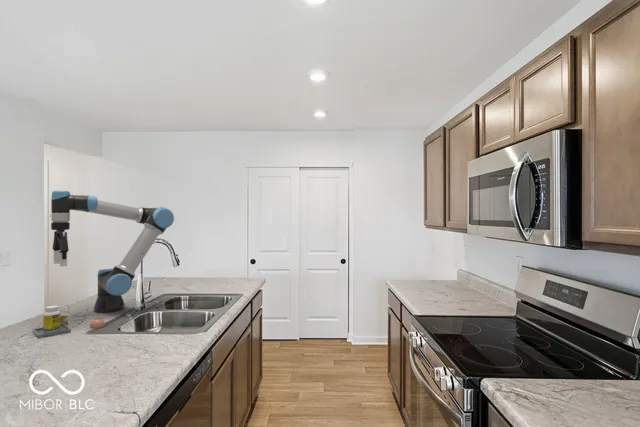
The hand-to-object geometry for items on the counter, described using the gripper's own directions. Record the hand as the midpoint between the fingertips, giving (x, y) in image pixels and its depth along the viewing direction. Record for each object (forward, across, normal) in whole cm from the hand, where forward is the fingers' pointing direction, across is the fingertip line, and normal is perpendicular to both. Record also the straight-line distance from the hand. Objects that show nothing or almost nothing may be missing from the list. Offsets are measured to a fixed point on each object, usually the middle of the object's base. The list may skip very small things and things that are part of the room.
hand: (60, 264), depth 184 cm
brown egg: (+29, +20, +11) cm, 37 cm away
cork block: (+29, +5, -1) cm, 29 cm away
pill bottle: (+28, +15, -6) cm, 33 cm away
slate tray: (+29, +15, -6) cm, 33 cm away
